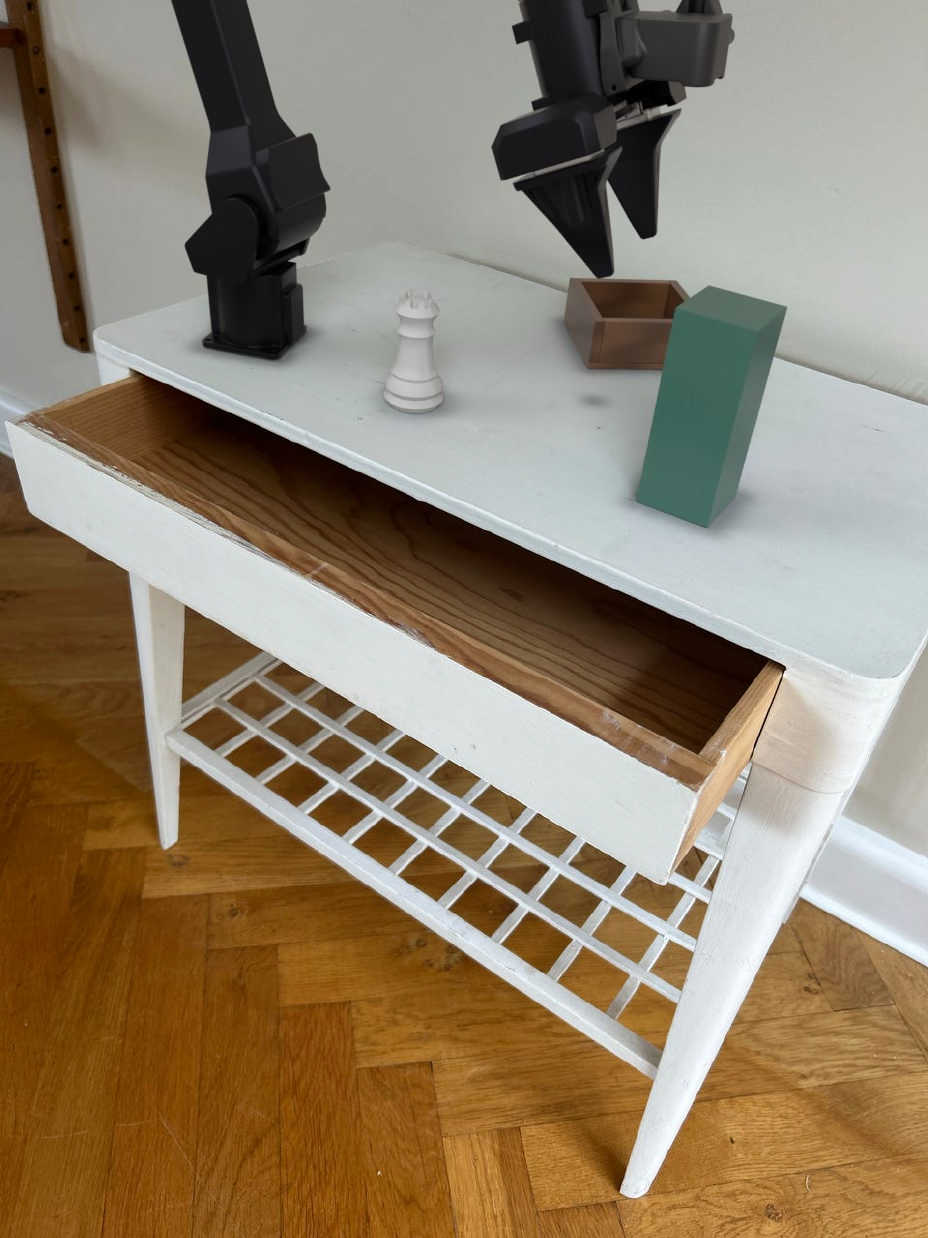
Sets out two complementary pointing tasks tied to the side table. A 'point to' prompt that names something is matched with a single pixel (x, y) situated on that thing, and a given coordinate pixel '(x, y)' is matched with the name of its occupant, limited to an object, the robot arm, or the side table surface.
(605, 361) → the walnut holder
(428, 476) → the side table surface
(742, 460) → the box
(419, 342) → the rook chess piece
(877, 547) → the side table surface
